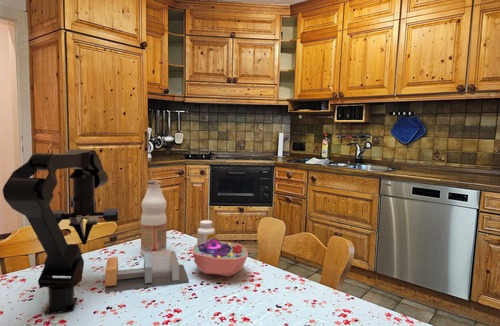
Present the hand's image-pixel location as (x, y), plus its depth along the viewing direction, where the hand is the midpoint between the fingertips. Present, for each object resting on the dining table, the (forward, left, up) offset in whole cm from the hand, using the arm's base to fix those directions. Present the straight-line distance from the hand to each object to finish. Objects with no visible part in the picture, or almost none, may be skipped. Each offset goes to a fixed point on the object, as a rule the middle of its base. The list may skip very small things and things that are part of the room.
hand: (84, 244), depth 98 cm
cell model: (-2, -41, -13) cm, 43 cm away
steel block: (0, -22, -12) cm, 25 cm away
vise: (0, -18, -12) cm, 22 cm away
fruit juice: (+22, -21, -13) cm, 33 cm away
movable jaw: (0, -12, -11) cm, 17 cm away
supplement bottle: (+16, -40, -13) cm, 45 cm away
